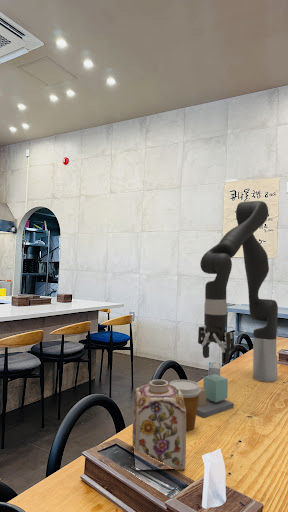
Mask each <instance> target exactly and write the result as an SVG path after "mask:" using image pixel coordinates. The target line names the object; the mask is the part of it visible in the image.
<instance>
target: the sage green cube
mask: <svg viewBox="0 0 288 512" xmlns="http://www.w3.org/2000/svg"><path fill="white" fill-rule="evenodd" d="M228 381H229V379H228V378H227V377H224V376H222V375H220V376H219V375H216V374H214V375H209V376H208V375H205V376H203V383H202V384H203V387H202V388H203V389H205V390H206V398H208V399H210V400H212V401H214V402H218V401H221V400H224V399H225V400H227V399H228V392H229V391H228V385H229V384H228Z"/></svg>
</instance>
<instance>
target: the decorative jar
mask: <svg viewBox="0 0 288 512" xmlns="http://www.w3.org/2000/svg"><path fill="white" fill-rule="evenodd" d="M183 399H184V398H183V394H182V391H181V390H180V389H179V388H176V387H174V386H171V385H169V382H168V380H165V379H153V380H150V381H149V383H147V384H143V385H140V386H139V387H136V388H135V390H134V392H133V409H132V411H133V412H132V447H133V446H134V447H135V451H137V452H138V451H139V452H140V451H141V452H143V453H145V454H147V455H149V456H150V457H152V458H154V459H156V460H158V461H160V462H162V463H164V464H165V465H167V466H169V467H171V468H173V469H175V470H174V471H184V470H185V469H186V464H187V462H186V458H187V454H186V453H187V431H186V407H185V402H184V400H183ZM183 469H184V470H183Z"/></svg>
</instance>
